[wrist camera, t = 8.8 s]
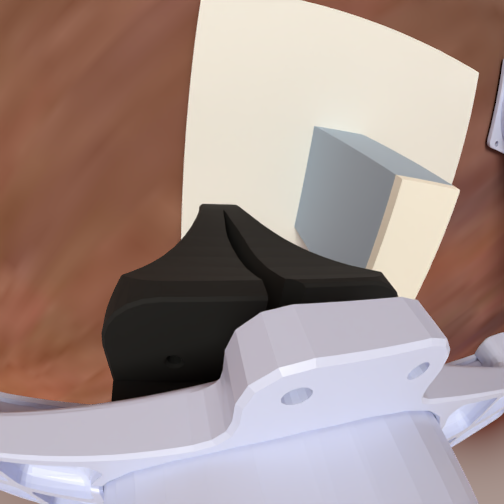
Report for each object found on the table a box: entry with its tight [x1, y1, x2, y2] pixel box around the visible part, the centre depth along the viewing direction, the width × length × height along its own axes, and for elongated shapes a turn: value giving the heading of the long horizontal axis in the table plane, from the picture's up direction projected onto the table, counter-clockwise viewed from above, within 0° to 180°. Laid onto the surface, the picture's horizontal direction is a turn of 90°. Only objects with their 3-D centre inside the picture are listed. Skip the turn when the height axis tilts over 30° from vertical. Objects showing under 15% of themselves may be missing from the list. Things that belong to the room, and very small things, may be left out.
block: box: [294, 126, 460, 300], centre depth 14 cm, size 3×6×8 cm, turn 173°
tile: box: [181, 0, 479, 251], centre depth 18 cm, size 18×18×1 cm
